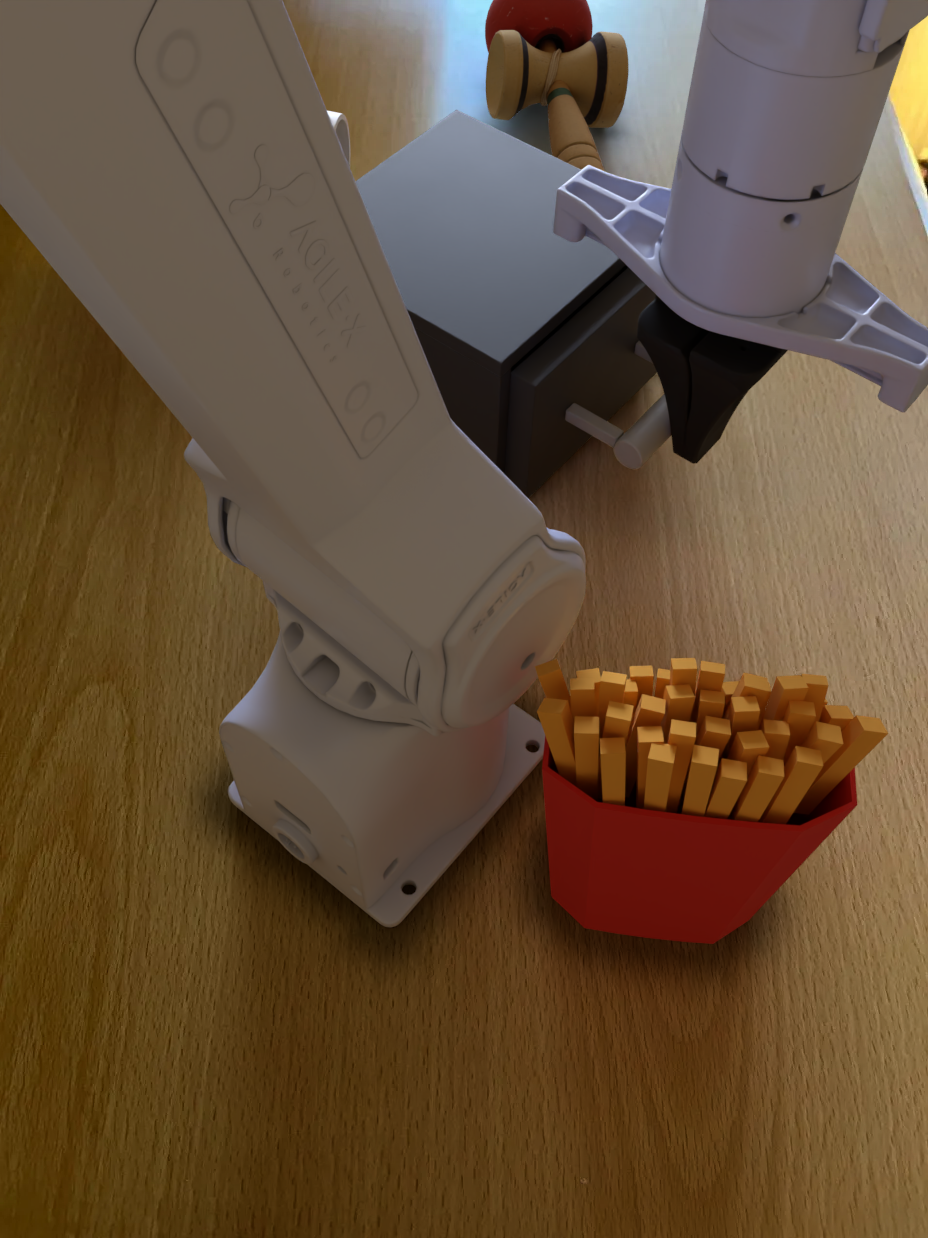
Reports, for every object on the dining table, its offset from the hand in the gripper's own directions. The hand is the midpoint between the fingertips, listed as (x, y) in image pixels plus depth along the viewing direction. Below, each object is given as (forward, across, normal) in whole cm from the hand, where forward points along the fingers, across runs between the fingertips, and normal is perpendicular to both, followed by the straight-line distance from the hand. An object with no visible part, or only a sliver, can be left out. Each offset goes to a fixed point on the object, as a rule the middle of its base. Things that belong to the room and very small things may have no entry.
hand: (696, 443), depth 48 cm
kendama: (+4, +19, -17) cm, 26 cm away
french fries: (+4, -8, +16) cm, 18 cm away
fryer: (+3, +12, 0) cm, 12 cm away
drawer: (+3, +8, 0) cm, 8 cm away
